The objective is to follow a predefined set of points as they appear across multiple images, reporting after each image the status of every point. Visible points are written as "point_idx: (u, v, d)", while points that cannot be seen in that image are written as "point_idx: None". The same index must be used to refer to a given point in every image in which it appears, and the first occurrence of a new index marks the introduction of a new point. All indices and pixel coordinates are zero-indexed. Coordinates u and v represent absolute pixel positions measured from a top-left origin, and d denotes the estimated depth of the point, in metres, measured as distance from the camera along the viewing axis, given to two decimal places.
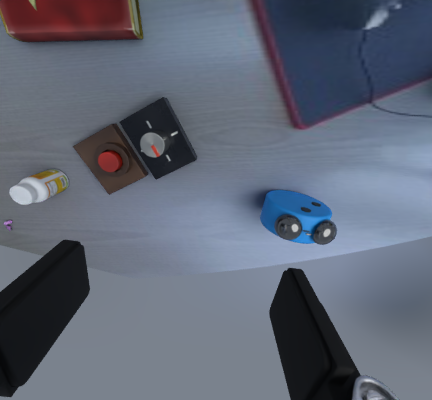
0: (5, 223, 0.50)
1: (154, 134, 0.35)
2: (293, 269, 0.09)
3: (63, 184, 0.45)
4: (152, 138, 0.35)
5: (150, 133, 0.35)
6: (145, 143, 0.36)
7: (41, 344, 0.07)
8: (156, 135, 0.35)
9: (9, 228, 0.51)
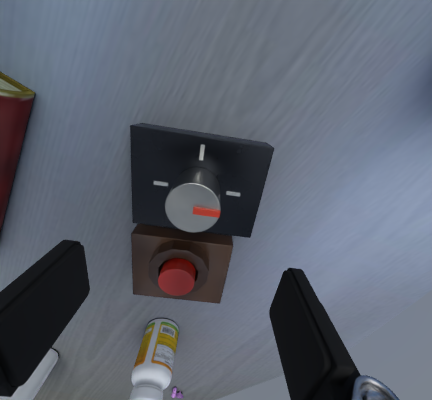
0: (173, 395, 0.40)
1: (176, 190, 0.15)
2: (293, 269, 0.09)
3: (170, 333, 0.31)
4: (180, 200, 0.15)
5: (169, 196, 0.15)
6: (181, 218, 0.16)
7: (41, 344, 0.07)
8: (180, 188, 0.15)
9: (180, 395, 0.41)
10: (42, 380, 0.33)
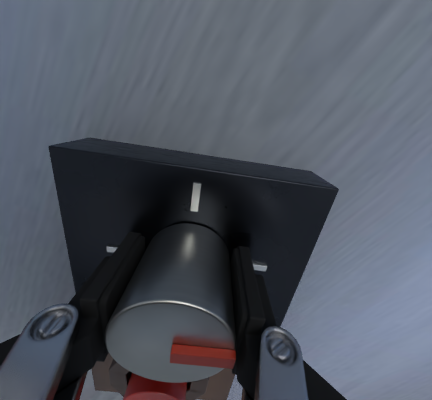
0: None
1: (126, 315, 0.06)
2: (240, 247, 0.10)
3: None
4: (140, 332, 0.06)
5: (112, 326, 0.06)
6: (146, 362, 0.07)
7: None
8: (136, 312, 0.06)
9: None
10: None
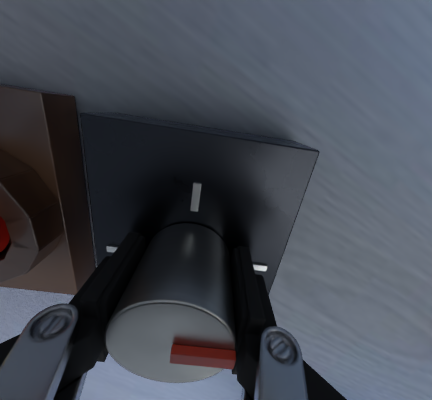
0: None
1: (126, 315, 0.06)
2: (240, 247, 0.10)
3: None
4: (140, 332, 0.06)
5: (112, 326, 0.06)
6: (146, 362, 0.07)
7: None
8: (136, 312, 0.06)
9: None
10: None
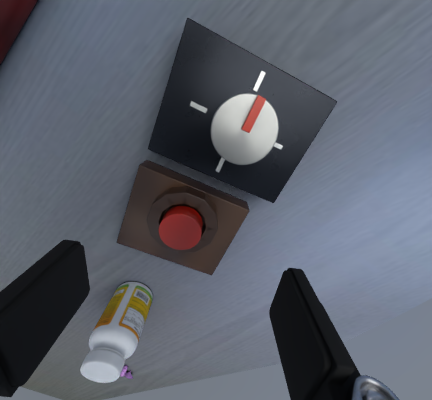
0: (122, 374, 0.36)
1: (216, 142, 0.13)
2: (293, 269, 0.09)
3: (144, 299, 0.27)
4: (228, 141, 0.13)
5: (220, 152, 0.13)
6: (251, 149, 0.13)
7: (41, 344, 0.07)
8: (214, 137, 0.13)
9: (130, 376, 0.37)
10: None
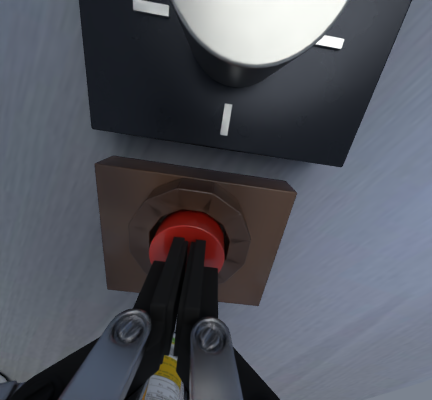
0: None
1: (190, 14, 0.05)
2: (197, 240, 0.10)
3: (172, 354, 0.19)
4: None
5: (211, 43, 0.05)
6: (297, 0, 0.04)
7: (174, 323, 0.08)
8: None
9: None
10: None
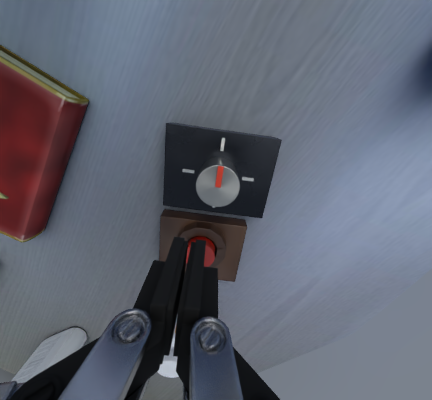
0: None
1: (202, 198, 0.20)
2: (197, 240, 0.10)
3: None
4: (209, 195, 0.20)
5: (207, 202, 0.21)
6: (225, 195, 0.20)
7: (174, 323, 0.08)
8: (200, 195, 0.20)
9: None
10: None
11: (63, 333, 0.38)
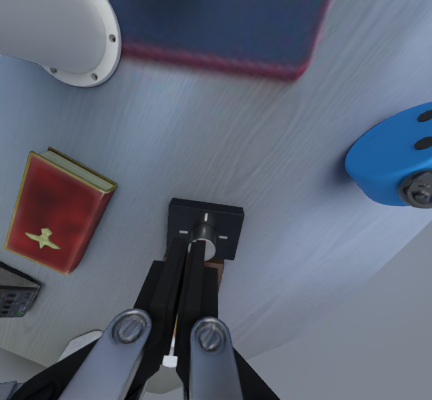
0: None
1: None
2: (197, 240, 0.10)
3: None
4: None
5: None
6: (206, 255, 0.32)
7: (174, 323, 0.08)
8: None
9: None
10: None
11: (88, 335, 0.51)
